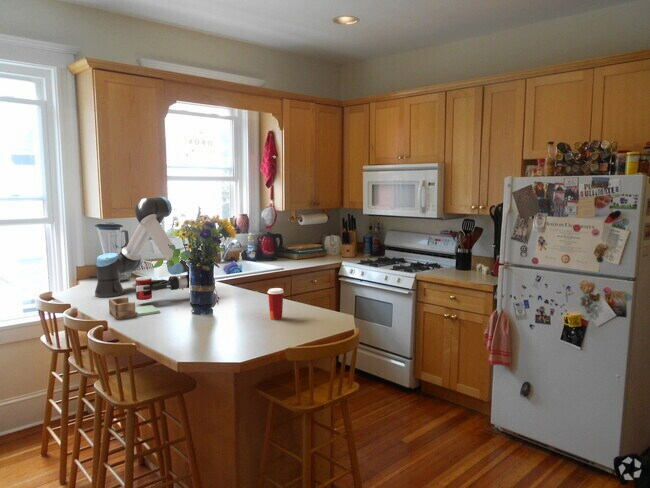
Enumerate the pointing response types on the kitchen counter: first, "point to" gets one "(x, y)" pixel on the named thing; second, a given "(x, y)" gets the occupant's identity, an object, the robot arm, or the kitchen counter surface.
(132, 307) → the crate
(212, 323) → the kitchen counter surface
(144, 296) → the canned food
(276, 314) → the paper cup
